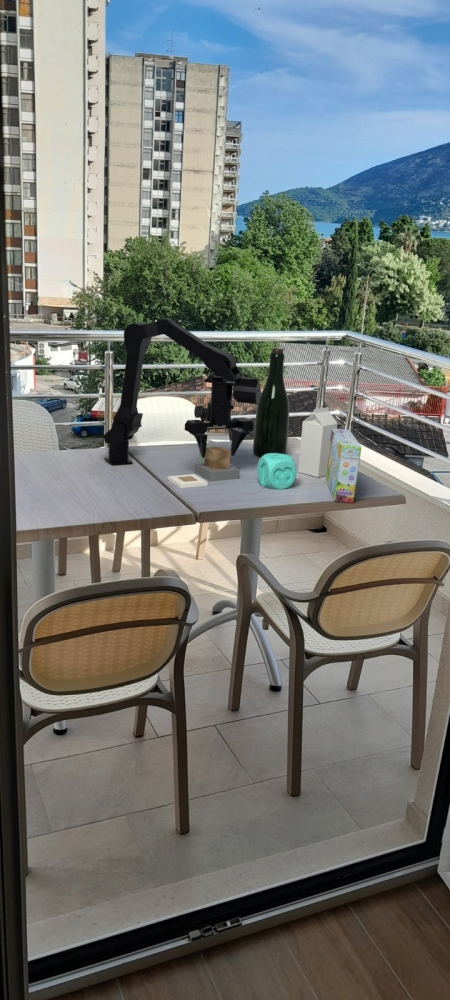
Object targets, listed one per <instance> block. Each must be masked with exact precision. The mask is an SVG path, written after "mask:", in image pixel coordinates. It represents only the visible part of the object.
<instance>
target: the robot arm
mask: <svg viewBox="0 0 450 1000" xmlns="http://www.w3.org/2000/svg"><path fill="white" fill-rule="evenodd" d="M161 335H164V336H166V337H168V338H169V339H170V340H173V342H175V343H176V344H178V345H179V346H181V347H183V348H184V349H185V350H186V351H188V352H190V353H192V354H193V355H194V356H196V357H198V359H200V360H201V361H202V363H203V364H204V365H205V368H207V369H208V370H210V371H211V373H209V375H208V377H206V378H204V380H203V382H204V383H206V384H207V383H209V384H211V389H210V391H211V392H210V401H208V403H207V407H206V408H204V405H195V406H194V409H193V410H194V412H193V413H194V418H195V419H187V420H186V422H185V423H184V431H186V432H188V433H189V434H190V435H191V436H194V438H195V440H196V444H197V447H198V451H199V450H200V453H201V457H202V458H205V454H206V446H208V445H207V443H208V434H207V432H208V431H209V430H212V431H213V430H227V429H229V430H230V431H231V445H230V456H235V455H236V453H237V451H238V449H239V447H240V445H242V443H243V441H244V440H245V438H246V436H247V435H250V432H254V431H255V422H253V420H251V419H249V418H247V417H234V418H232V410H234V409H235V406H234V405H233V404H232V403H233V399H234V400H236V403H243V404H253V405H257V404H258V403H259V401H260V397H261V393H262V388H261V384H260V378H259V377H244V375H243V374H242V372H241V370H240V369H239V367H238V366H237V359H236V357H235V355H233V354H232V353H231V352H229V351H226V350H225V349H222V348H219V347H216V346H212V345H210V344H209V343H207V342H205V341H204V340H202V339H201V338H200V337H198V336H197V335H195V334H193V333H192V332H190V331H189V330H187V329H186V328H184V327H183V326H181V325H180V324H179V323H177V322H176V321H175V320H174V319H173V318H169V317H167V318H162V319H160V320H157V321H152V322H149V323H147V322H144V321H141V322H133V323H130V324H128V325H127V326H126V327H125V328H124V331H123V346H124V349H125V353H126V358H125V359H126V360H125V367H124V375H123V382H122V388H121V389H122V390H121V397H120V404H119V407H118V409H117V411H116V413H115V415H114V417H113V420H112V424H111V428H110V429H109V430H108V431H107V432H106V433H105V434H103V435H102V436H103V439H104V443H105V444H108V457H105V458H103V459H104V461H105V460H106V461H105V462H106V463H108V464H109V465H112V466H116V465H117V464H119V465H130V464H133V463H134V462H133V461H132V460H131V459H129V455H130V454H129V453H130V451H129V450H130V446H129V445H130V440H132V439H133V438H134V435H135V434H136V433H138V431H139V430H140V428H142V419H143V416H144V415H143V414H144V413H142V412H139V411H138V399H139V393H140V385H141V377H142V369H143V363H144V357H145V355H146V353H147V351H148V349H149V348H150V344H151V341H152V338H154V337H158V336H161ZM199 418H200V419H199ZM117 466H118V465H117Z"/></svg>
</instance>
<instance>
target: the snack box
mask: <svg viewBox="0 0 450 1000" xmlns="http://www.w3.org/2000/svg"><path fill="white" fill-rule="evenodd" d="M361 453H362V446H361V444H360V442H359V441H358V440H357V438H356V437H355V436H354V435H353V433H352V431H351V430H350V429H344V428H337V429H332V431H331V440H330V449H329V457H328V465H327V473H326V475H325V481H326V483H327V485H328V488H329V491H330V494H331V495H332V498H333V501H334V502H337V503H349V504H354V501H355V495H356V494H355V493H356V487H357V481H358V475H359V467H360V459H361V455H362V454H361Z"/></svg>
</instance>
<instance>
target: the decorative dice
mask: <svg viewBox="0 0 450 1000" xmlns="http://www.w3.org/2000/svg"><path fill="white" fill-rule="evenodd" d="M256 473H257V474H256V476H257V479H258V483H259V484H260V486H262V487H263V488H265V489H266V488H267V489H269V490H270V489H271V490H286V489H289V488H290V487H291V486H292V485H293V484H294V482H295V481H296V478H297V465H296V462H295V460H294V458H293V457H292V456H291V455H288V454H286V455H285V454H279V453H269V454H265V455H263V456H262V457H260V458H259V460H258V463H257V468H256Z"/></svg>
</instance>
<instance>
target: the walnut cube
mask: <svg viewBox="0 0 450 1000" xmlns="http://www.w3.org/2000/svg"><path fill="white" fill-rule="evenodd" d="M230 459H231V449H230V450H229V449H227V448H225V447H223V446H217V447H210V448H206V454H205V466H207V467H209V468H211V469H213V470H218V469H229V465H231V463H230V462H231V460H230Z"/></svg>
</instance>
